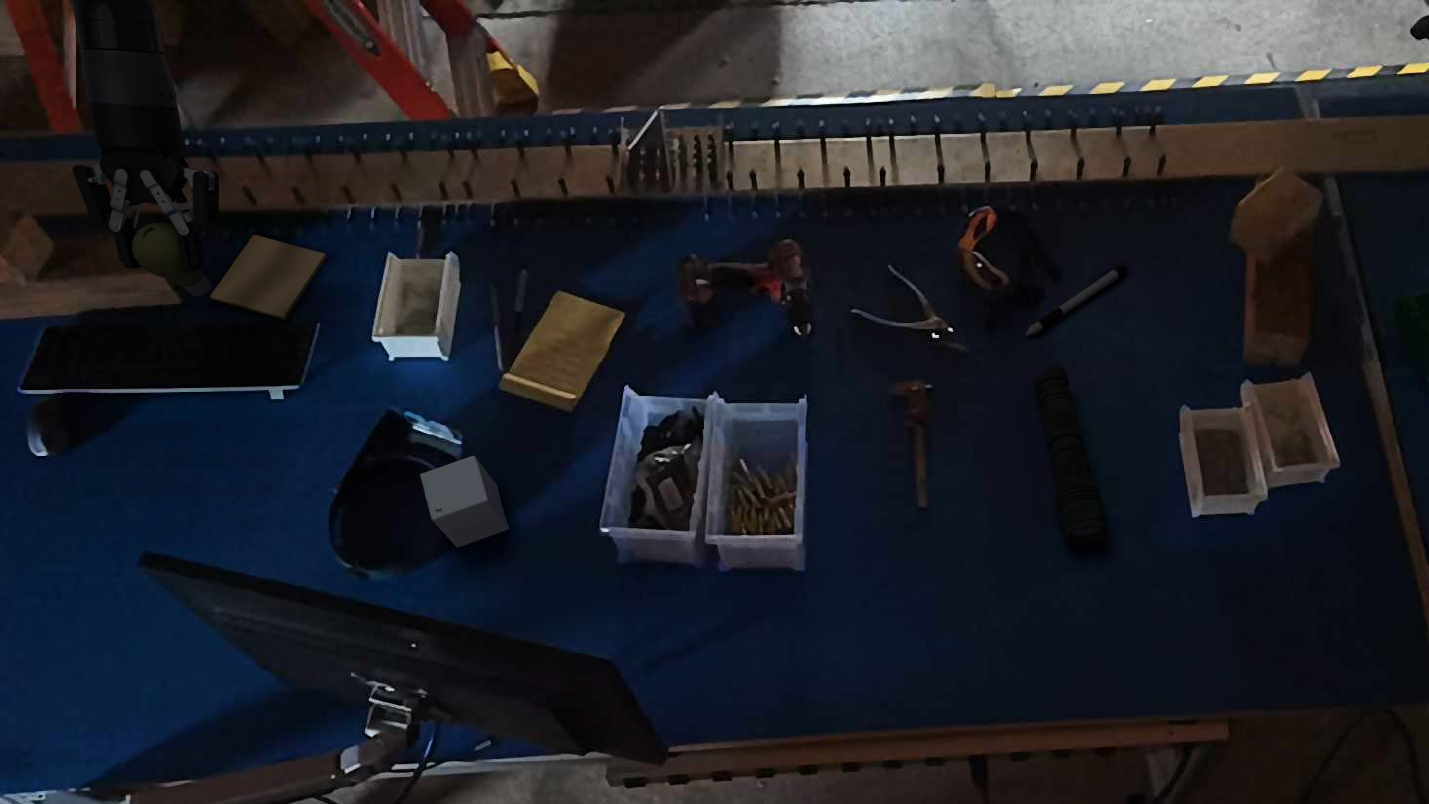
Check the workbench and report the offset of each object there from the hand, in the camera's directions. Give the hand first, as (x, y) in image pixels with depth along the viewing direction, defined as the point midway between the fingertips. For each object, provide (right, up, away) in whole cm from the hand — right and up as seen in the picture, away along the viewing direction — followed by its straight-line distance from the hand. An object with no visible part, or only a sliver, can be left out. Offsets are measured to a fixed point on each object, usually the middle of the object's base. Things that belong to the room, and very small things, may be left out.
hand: (164, 268), depth 120 cm
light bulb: (0, -1, +7) cm, 7 cm away
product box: (+31, -26, +6) cm, 41 cm away
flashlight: (+97, -20, +10) cm, 99 cm away
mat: (0, +3, +19) cm, 19 cm away
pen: (+99, 0, +20) cm, 101 cm away
